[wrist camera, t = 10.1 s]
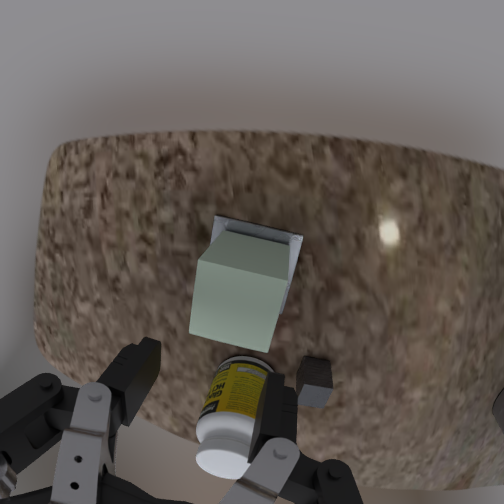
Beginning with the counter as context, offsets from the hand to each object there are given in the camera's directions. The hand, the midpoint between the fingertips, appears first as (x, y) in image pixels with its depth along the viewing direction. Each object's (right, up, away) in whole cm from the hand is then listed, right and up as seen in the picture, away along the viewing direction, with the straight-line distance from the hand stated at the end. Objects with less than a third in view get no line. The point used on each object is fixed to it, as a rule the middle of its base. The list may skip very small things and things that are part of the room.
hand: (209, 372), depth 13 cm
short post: (+8, -6, +15) cm, 18 cm away
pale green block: (+2, +4, +12) cm, 12 cm away
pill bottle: (+1, -7, +17) cm, 18 cm away
